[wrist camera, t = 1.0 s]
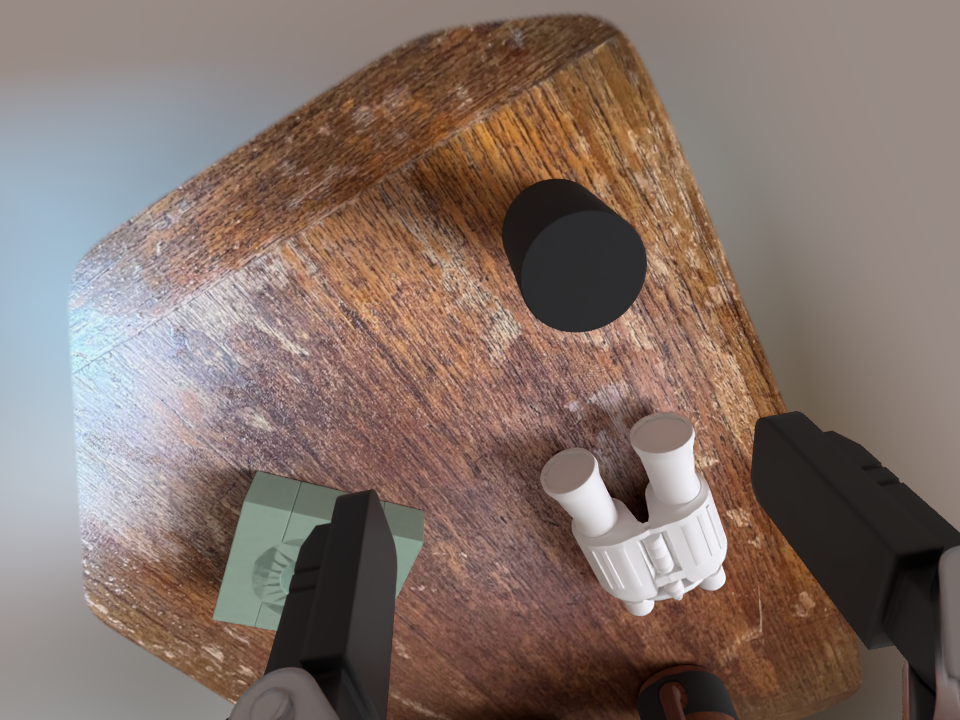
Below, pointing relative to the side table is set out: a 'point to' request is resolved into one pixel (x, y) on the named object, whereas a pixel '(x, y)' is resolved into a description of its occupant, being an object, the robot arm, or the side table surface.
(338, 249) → the side table surface
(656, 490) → the binoculars
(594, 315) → the stopper
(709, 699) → the mug
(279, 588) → the green block with hole
